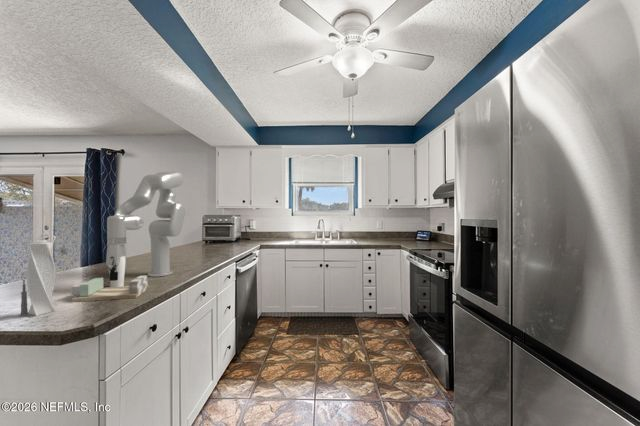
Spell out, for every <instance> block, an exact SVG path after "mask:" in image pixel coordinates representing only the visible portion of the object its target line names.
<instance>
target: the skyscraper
mask: <svg viewBox="0 0 640 426" xmlns="http://www.w3.org/2000/svg"><path fill="white" fill-rule="evenodd" d="M45 238H53V239H52V242H50V241H49V242H48V241H47V240H45ZM56 238H57V236H55V235H46V236H45V235H44V236H41V237H39V238H38V239H37V240H35V241H31V242H29V243H27V246H28V249H29V253H30V257H29V259H28V263H27V271H26V282H27V283H25V279H23V281H22V291H21V293H20V294H21V297H20V299H21V301H20V303H21V304H20V314H19V316H22V317H27V318H30V319H31V318H33V317H38V316H42V315H46V314H50V313H54V312H56V310H55V307H54V305H53V303H52V300H51V299H52V296H53V294H54V293H53V292H54V288H55V284H56V283H55V282H56V263H55V261H54V260H55V259H54V257H53V255H52V249H53V247H54V242H55V241H56ZM42 239H43V240H42ZM26 284H27V287H26ZM26 288H27V289H28V290H26ZM27 293H28V295H29V299H30V302H31V306H30V307H29V310H28V296H27Z"/></svg>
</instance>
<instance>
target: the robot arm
mask: <svg viewBox="0 0 640 426" xmlns="http://www.w3.org/2000/svg"><path fill="white" fill-rule="evenodd" d="M183 183H184V176H183V174H182V173H181V172H178V171H161V172H156V173H154V174H146V175H144V176H143V178H142V179H141V180H140V183H139V184H138V187H137V188H136V190H135V192H134V194H133V195H132V196H131V197H130V198H128V199H127V200H126V201H124V202H123V203H122V204H120V205H119V206H118V208H117V209H116V210H115V213H114V215H110V216H108V217H107V218H106V231H107V232H106V234H107V235H106V236H107V237H106V240H107V242H106V243H107V245H106V246H107V247H106V256H105V257H106V258H105V265H106V266H107V267H108V273H109V272H110V276H109V282H110V281H115V280H118V272H117V268H118V265H119V264H120V258H121V257H123V256H125V260H126V259H127V257H126V256H127V255H126V245H127V231H137V230H139V229H141V228H143V226H144V223H145V222H144V219H143V218H142V217H141V216H139V215H135V214H134V215H133V214H132V213H134V212H135V211H137V210H139V209H141V208H144V207H146V206H148V205H150V204H151V203H152V200H153V198H154V196H155V194H156V192H157V191H159V197H158V201H157V205H156V209H155V214H156V216H157V217H158V218H159V219H156V220H153V221H150V223H149V225H148V233H149V238H150V271H149V272H148V273H147V277H153V278H154V277H156V278H157V277H164V276H165V277H166V276H170V275H172V274H173V273H174V272H173V270H171V269H170V268H171V265H170V263H171V262H170V260H171V259H170V258H171V256H170V253H171V252H170V251H171V249H170V247H171V246H170V245H171V243H170V241H169V239H168V237H169V238H171V237H177V236H179V235H180V234H181V231H182V228H183V224H184V219H185V214H186V209H185V206H184V204H182V203H181V202H177V201H176V193H175V191H174V188H178V187H181V186H182V184H183ZM126 261H127V260H126ZM114 262H115V263H116V264H115V265H113V263H114ZM114 267H115V268H114Z"/></svg>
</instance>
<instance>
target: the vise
mask: <svg viewBox="0 0 640 426" xmlns="http://www.w3.org/2000/svg"><path fill="white" fill-rule="evenodd" d="M148 289H149V284H148V274H147V275H146V274H143V275H138V276H137V277H136V278H134V279H132V280H130V281H129V284H128V285H124V286H122V287H110V286H109V287H106V286H105V287H104V288H102V289H100V290H98V291H96V292H94V293H93V294H91V295H89V296H80V295H75V296H74V297H72V298H71V303H78V302H79V303H80V302H93V301H94V302H95V300H98V301H109V300H111V301H112V299H113V300H123V299H125V300H126V299H136V298H138V297H139V296H141V295H142V294H143V293H145V291H147V290H148Z"/></svg>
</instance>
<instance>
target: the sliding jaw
mask: <svg viewBox="0 0 640 426" xmlns="http://www.w3.org/2000/svg"><path fill="white" fill-rule="evenodd" d="M102 288H105V287H104V277H95V278H93V279H90V280H88V281H85V282H84V281H83V282H80V283H78V284H76V285H73V286H71V296H78V295H80V296H89V295H91V294H93V293H94V292H96V291H98V290H100V289H102Z"/></svg>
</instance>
